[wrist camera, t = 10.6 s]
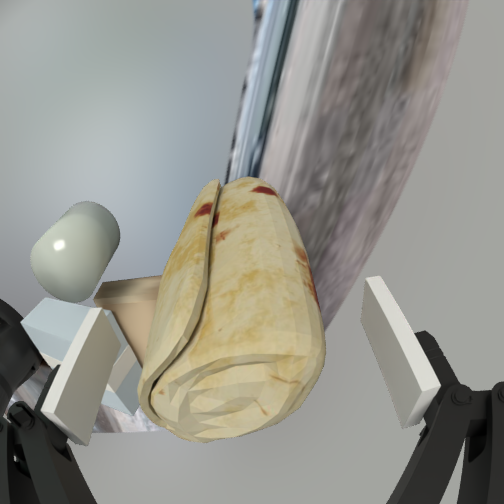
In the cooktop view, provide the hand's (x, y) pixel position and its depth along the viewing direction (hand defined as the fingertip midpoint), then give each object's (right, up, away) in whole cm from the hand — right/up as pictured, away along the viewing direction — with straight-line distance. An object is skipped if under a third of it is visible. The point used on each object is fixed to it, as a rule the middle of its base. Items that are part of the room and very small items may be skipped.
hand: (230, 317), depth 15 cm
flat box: (-18, -8, +18) cm, 26 cm away
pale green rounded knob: (-15, +5, +13) cm, 20 cm away
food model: (-1, +7, +13) cm, 15 cm away
